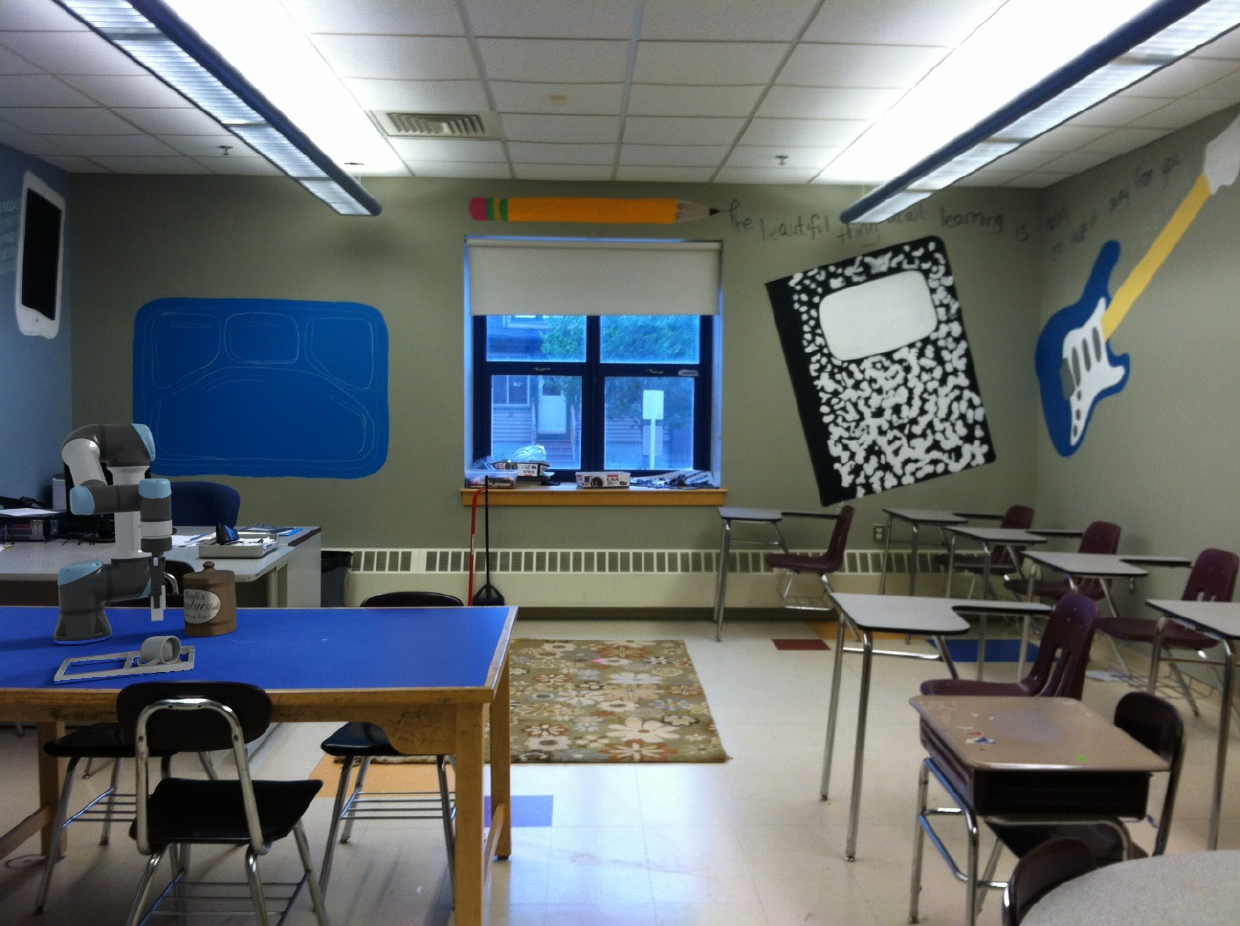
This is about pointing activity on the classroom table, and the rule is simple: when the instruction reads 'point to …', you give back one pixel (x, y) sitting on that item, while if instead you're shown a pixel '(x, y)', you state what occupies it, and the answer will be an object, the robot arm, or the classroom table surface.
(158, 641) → the ceramic mug
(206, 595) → the wooden container
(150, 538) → the robot arm
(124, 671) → the slot rack
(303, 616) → the classroom table surface
